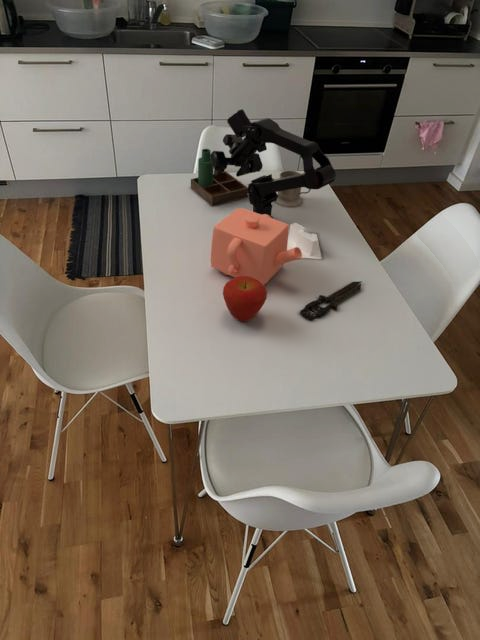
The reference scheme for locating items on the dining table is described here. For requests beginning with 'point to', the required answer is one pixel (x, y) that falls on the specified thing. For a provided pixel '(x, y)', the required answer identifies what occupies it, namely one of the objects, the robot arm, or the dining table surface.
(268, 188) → the robot arm
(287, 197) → the mug
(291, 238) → the napkin holder
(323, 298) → the knife
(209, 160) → the bottle
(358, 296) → the dining table surface
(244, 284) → the apple
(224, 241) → the teapot
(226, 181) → the tray
